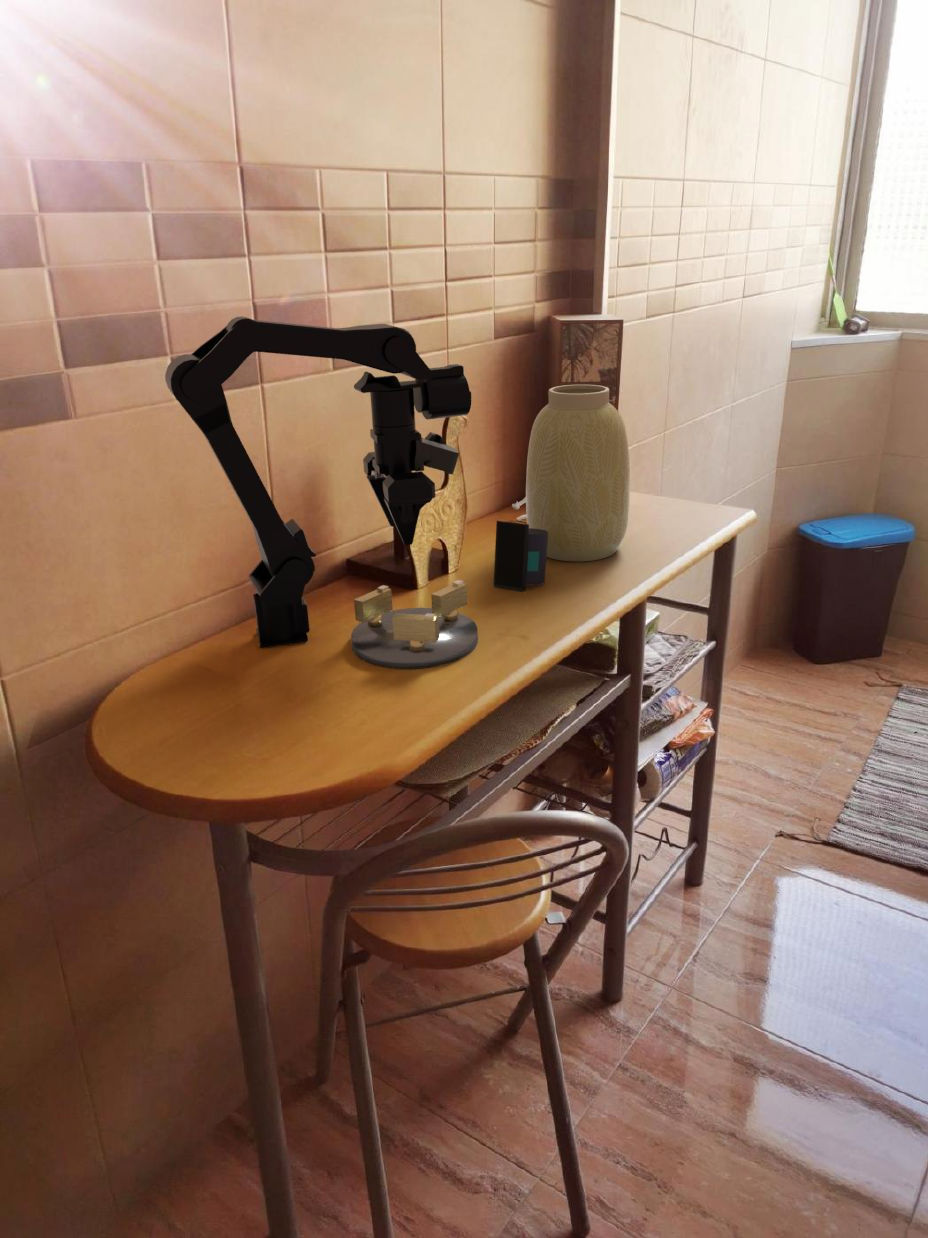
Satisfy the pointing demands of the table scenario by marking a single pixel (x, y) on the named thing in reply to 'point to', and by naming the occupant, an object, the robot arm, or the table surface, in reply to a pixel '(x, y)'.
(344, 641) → the table surface
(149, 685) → the table surface
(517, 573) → the speaker
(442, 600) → the knob right
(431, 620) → the knob front
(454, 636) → the plate
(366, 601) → the knob left
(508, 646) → the table surface
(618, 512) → the vase
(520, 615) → the table surface
